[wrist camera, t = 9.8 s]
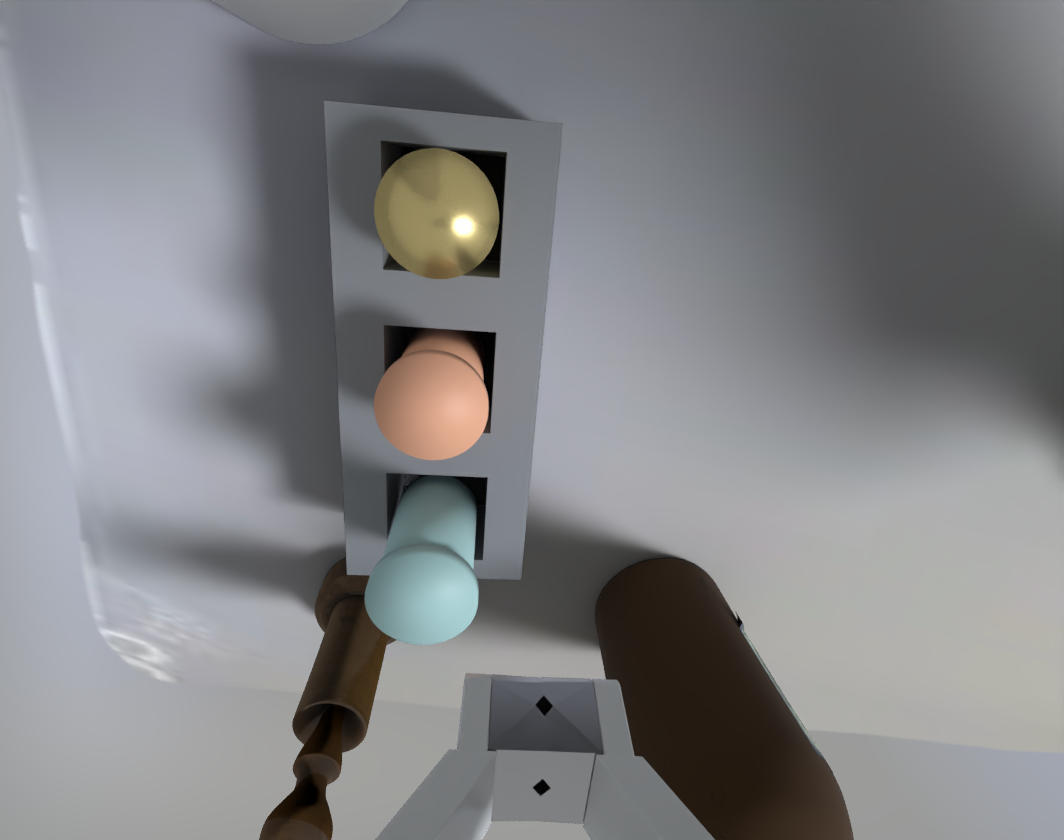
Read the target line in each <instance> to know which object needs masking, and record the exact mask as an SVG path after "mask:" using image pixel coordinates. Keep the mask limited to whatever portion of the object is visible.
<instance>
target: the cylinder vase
mask: <svg viewBox="0 0 1064 840" xmlns="http://www.w3.org/2000/svg"><path fill="white" fill-rule="evenodd" d="M211 1H213V2H214V3H216V4H218V5H219V6H221V7H222V8H224V9H226V10H227V11H229V12H230V13H232V14H234V15H235V16H237V17H239V18H240V19H242V20H243V21H245V22H247V23H248V24H250V25H252V26H253V27H255V28H257V29H259V30H261V31H263V32H265V33H268V34H270V35H273V36H275V37H278V38H281V39H284V40H288V41H292V42H297V43H303V44H313V45H327V44H337V43H342V42H346V41H350V40H354V39H356V38H359V37H362V36H364V35H366V34H368V33H370V32H372V31H374V30H376V29H377V28H379V27H380V26H382V25H383V24H385V23H386V22H387V21H389V20H390V19H391V18H392V17H393V16H394V15H395V14H397V13H398V12H399V11H400V9H401V8H402V7H403V6H404V5H405V4H406V3H407V1H408V0H211Z"/></svg>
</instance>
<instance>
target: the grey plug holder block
mask: <svg viewBox="0 0 1064 840" xmlns="http://www.w3.org/2000/svg"><path fill="white" fill-rule="evenodd" d="M324 120H325V140H326V160H327V180H328V201H329V221H330V241H331V261H332V281H333V301H334V321H335V342H336V362H337V382H338V402H339V422H340V442H341V463H342V483H343V503H344V523H345V543H346V563H347V575H371V572H372V570H373V568H374V567H375V565H376V564H377V563H378V561H379V560H380V559H381V558H382V557H383V554H384V551H385V548H386V544H387V541H388V538H389V534H390V531H391V528H392V524H393V521H394V518H395V514H396V511H397V508H398V504H399V501H400V498H401V495H402V493H403V474H421V475H443V476H466V477H486V494H485V506H477V516H476V533H475V550H474V567H473V570H474V572H475V574H476V577H477V579H504V580H521V575H522V564H523V553H524V542H525V531H526V520H527V509H528V498H529V487H530V476H531V465H532V454H533V443H534V432H535V421H536V410H537V400H538V389H539V378H540V367H541V356H542V345H543V334H544V323H545V312H546V301H547V290H548V279H549V268H550V257H551V246H552V235H553V224H554V213H555V202H556V191H557V180H558V169H559V158H560V147H561V136H562V125H563V124H561V123H550V122H540V121H530V120H519V119H509V118H499V117H489V116H478V115H468V114H458V113H447V112H437V111H427V110H417V109H406V108H396V107H386V106H375V105H365V104H355V103H345V102H334V101H324ZM402 147H404V148H415V149H427V148H440V149H446V150H449V151H453V152H459V153H470V154H481V155H491V156H502V157H505V168H504V185H503V202H502V219H501V237H500V254H499V261H489V260H483V261H482V262H481V263H480V264H479V265H478V266H477V267H475V268H474V269H473V270H471V271H469V272H468V273H466V274H463V275H461V276H458V277H454V278H450V279H431V278H426V277H422V276H419V275H417V274H414V273H412V272H411V271H409V270H407V269H405V268H404V267H403V266H401V265H400V264H399V263H398V262H397V261H396V260H395V259H394V258H393V257H392V256H391V255H390V254H389V252H388V251H387V250H386V248H385V246H384V245H383V243H382V241H381V239H380V237H379V234H378V231H377V228H376V223H375V216H374V202H375V196H376V192H377V189H378V186H379V184H380V182H381V179H382V178H383V176H384V174H385V173H386V171H387V170H388V169H389V168H390V167H391V166H392V164H394V163H395V162H396V161H397V160H398V159H400V158H401V157H402ZM403 326H407V327H422V328H437V329H452V330H467V331H483V332H495V340H494V357H493V374H492V391H491V394H488V399H489V409H488V419H487V423H486V426H485V429H484V431H483V433H482V435H481V436H480V438H479V439H478V440H477V441H476V443H475V444H474V445H473V446H471V447H470V448H469V449H468V450H466V451H465V452H463V453H461V454H459V455H457V456H455V457H452V458H448V459H443V460H424V459H419V458H415V457H412V456H410V455H407V454H405V453H403V452H402V451H400V450H399V449H397V448H396V447H395V446H393V445H392V444H391V443H390V442H389V441H388V440H387V439H386V438H385V436H384V435H383V433H382V432H381V430H380V428H379V426H378V424H377V421H376V418H375V414H374V397H375V392H376V389H377V387H378V385H379V383H380V381H381V379H382V377H383V375H384V374H385V372H386V371H387V370H388V368H389V367H390V366H391V365H392V364H393V363H394V362H396V361H397V360H398V359H400V358H401V357H402V355H403Z"/></svg>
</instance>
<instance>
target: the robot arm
mask: <svg viewBox="0 0 1064 840" xmlns="http://www.w3.org/2000/svg"><path fill="white" fill-rule="evenodd" d="M491 680H492V683H491ZM491 821H543V822H558V823H559V822H560V823H575V824H584V825H583V827H584V829H585V830H586V832H587V834H588V835H589V837H590V839H591V840H715V839H714V838H713V837H712V836H711V835H710V833H709V832H708V831H707V830H706V829H705V828H704V827H703V825H702V824H701V823H700V822H699V821H698V820H697V819H696V817H695V816H694V815H693V814H692V813H691V812H690V811H689V809H688V808H687V807H686V806H685V805H684V804H683V803H682V801H681V800H680V799H679V798H678V797H677V796H676V795H675V793H674V792H673V791H672V790H671V789H670V788H669V787H668V785H667V784H666V783H665V782H664V781H663V780H662V779H661V777H660V776H659V775H658V774H657V773H656V772H655V771H654V769H653V768H652V767H651V766H650V765H649V764H648V763H647V761H646V760H645V759H644V758H643V757H641V756H634V751H633V746H632V741H631V736H630V731H629V727H628V722H627V717H626V712H625V707H624V702H623V697H622V692H621V687H620V684H619V682H618V681H617V680H607V679H592V680H591V679H584V678H552V677H541V678H537V677H523V676H508V675H494V674H492V678H491V675H488V674H473V673H466V676H465V679H464V687H463V697H462V706H461V716H460V725H459V734H458V744H457V750H452V749H451V750H450V749H449V750H448V751H447V753H446V754H445V755H444V756H443V758H442V759H441V760H440V761H439V762H438V764H437V765H436V766H435V767H434V768H433V770H432V771H431V772H430V773H429V775H428V776H427V777H426V778H425V779H424V781H423V782H422V783H421V784H420V786H419V787H418V788H417V789H416V790H415V792H414V793H413V794H412V795H411V797H410V798H409V799H408V800H407V801H406V803H405V804H404V805H403V806H402V808H401V809H400V810H399V811H398V812H397V814H396V815H395V816H394V817H393V819H392V820H391V821H390V822H389V824H388V825H387V826H386V827H385V828H384V829H383V831H382V832H381V833H380V835H379V836H378V837H377V838H376V839H375V840H482V839H483V837H484V835H485V834H486V832H487V830H488V828H489V826H490V825H491Z"/></svg>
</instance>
